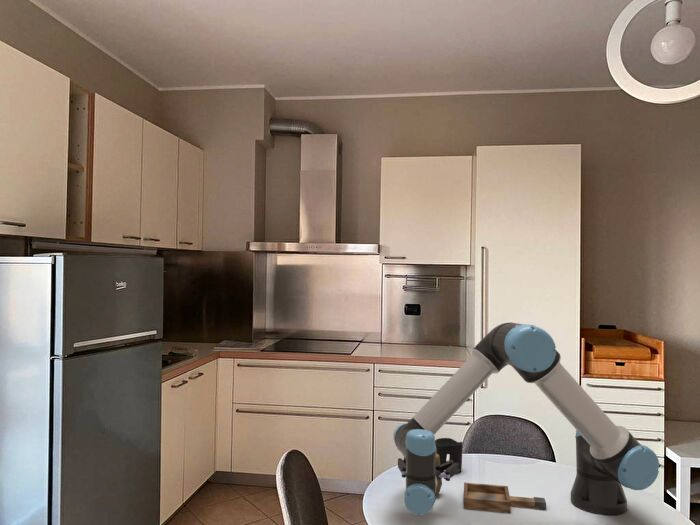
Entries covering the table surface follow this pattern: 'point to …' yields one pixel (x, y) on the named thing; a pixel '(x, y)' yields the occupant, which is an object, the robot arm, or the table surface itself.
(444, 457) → the pen holder
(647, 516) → the table surface
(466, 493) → the wooden tray with handle
